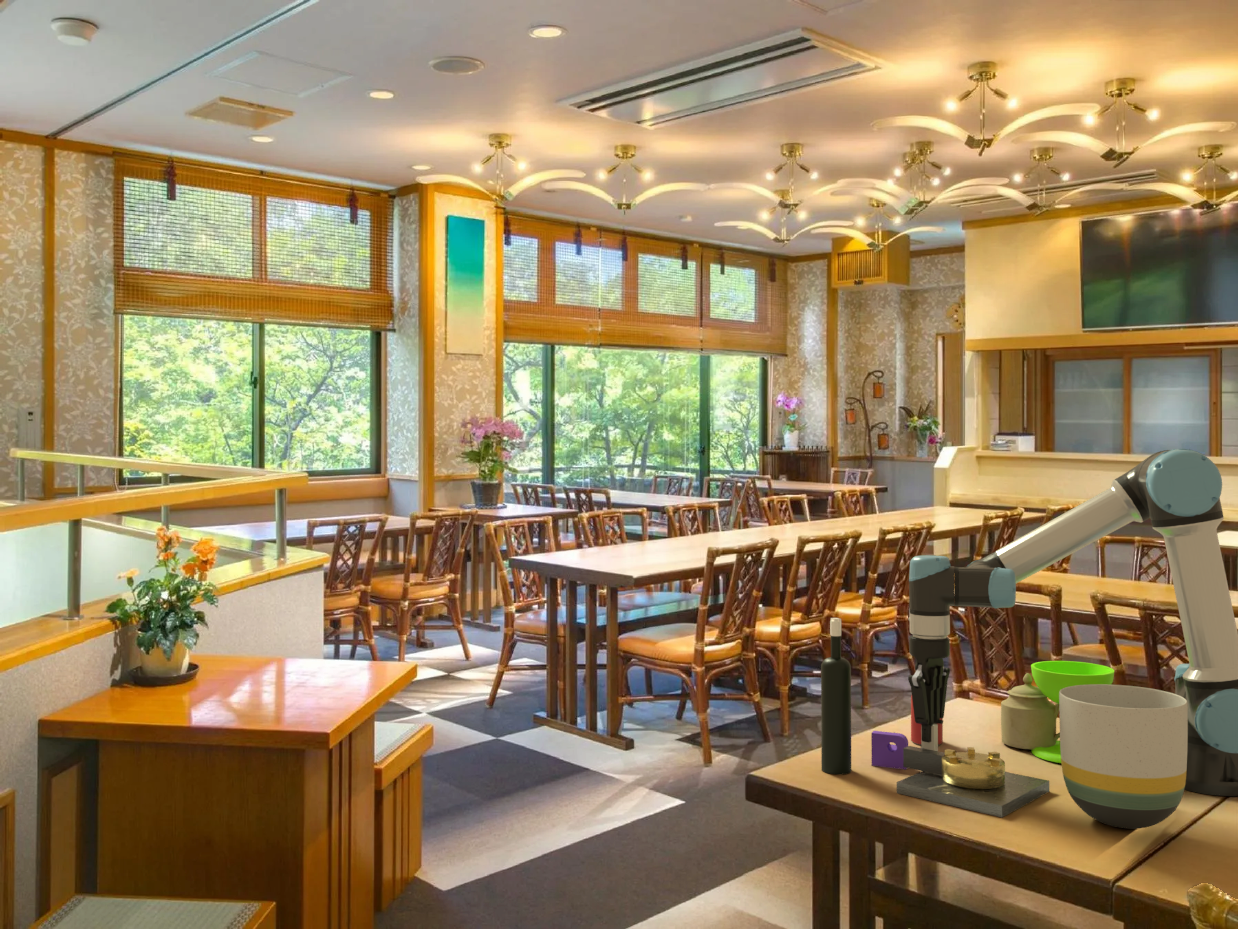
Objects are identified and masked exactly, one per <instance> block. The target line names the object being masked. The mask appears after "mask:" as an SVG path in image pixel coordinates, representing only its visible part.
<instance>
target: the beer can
mask: <svg viewBox="0 0 1238 929" xmlns="http://www.w3.org/2000/svg"><path fill="white" fill-rule="evenodd" d="M910 695H911V696H910V741H911V742H912V743H913V744H915V745H918V746H921V724H918V723H916V722H915V717H914V709H913V701H912V694H910ZM940 720H943V721H944V717H943V718H940ZM937 724H938V723H937ZM943 724H944V723H943ZM943 724H938V746H940V745H942V744H943V741H944V740H943V739H944V738H943V733H944V732H943V730H944V729H943V728H944V727H943V726H944V725H943Z"/></svg>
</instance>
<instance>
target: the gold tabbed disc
mask: <svg viewBox="0 0 1238 929" xmlns="http://www.w3.org/2000/svg"><path fill="white" fill-rule="evenodd" d="M966 749H967V751H966V752H965V751H959V752H958V751H956V750H954V749H950V748H946V749H944V752H943V751H939V750H938V751H933V750H928V749H923V748H921V747H917V746H913V745H908V747H905V748H903V767H906V768H907V769H912V770H914V771H915V770H917V771H919V772H922V771H925V772H929V773H934V774H939V775H942V779H943V780H944V781H945V782H947V783H950V784H952V785H956V786H960V787H966V788H975V789H990V788H997V787H1001V786H1003V785H1004V784H1005V772H1006V768H1005V767H1006V763H1005V761H1004V760H1003V758H1001V754H1000V752H997V751H988V754H986V753H982V752H981V753H980V752H976V751H975V750H976V749H975V747H974V746H973V747H971V746H970V747H969V746H967V748H966Z"/></svg>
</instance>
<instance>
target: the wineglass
mask: <svg viewBox="0 0 1238 929" xmlns="http://www.w3.org/2000/svg"><path fill="white" fill-rule="evenodd" d="M1030 668H1031V677H1032V679H1033V681H1034V682H1035V685H1036V687H1038V688H1039V689H1040V690H1041V692H1042V693H1043V694H1044V695H1045V696H1046V697H1047V699H1048V700H1050V701H1051V702H1052V703H1053V702H1054V703H1055V704H1056V703H1058V704H1059V692H1060V690H1061V689H1063V688H1066V687H1070V686H1076V685H1090V684H1107V685H1113V682H1114V678H1115V677H1114V676H1115V669H1113V668H1112V667H1109V666H1107V665H1103V664H1098V663H1092V662H1084V661H1072V660H1071V661H1070V660H1045V661H1038V662H1037V661H1036V662H1033V663H1032V664H1030ZM1030 750H1031V751H1030V752H1031V753H1032V755H1033V756H1035V757H1036V758H1039V759H1042V760H1045V761H1048V762H1052V763H1057V764H1058V763H1059V764H1061V748H1060V740H1057V741H1056V744H1055V745H1053V746H1050V747H1036V748H1034V749H1030Z"/></svg>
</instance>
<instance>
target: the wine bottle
mask: <svg viewBox="0 0 1238 929" xmlns="http://www.w3.org/2000/svg"><path fill="white" fill-rule="evenodd" d="M829 624H830V625H829V628H830V629H829V635H830V657H826V658H825V659H823V661H822V662H821V664H820V677H821V678H820V688H821V690H820V693H821V696H820V698H821V699H820V700H821V701H820V704H821V705H820V707H821V708H820V709H821V710H820V711H821V712H820V713H821V714H820V715H821V718H820V719H821V722H820V723H821V724H820V726H821V730H820V731H821V733H820V734H821V743H820V744H821V745H820V747H821V748H820V749H821V750H820V751H821V757H820V758H821V771H822V772H824V773H826V774H830V775H847V774H850V773H851V772H852V666H851V663H850V661H849V660H848V659H846V658H844V657H842V618H839V617H830V621H829Z"/></svg>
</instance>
